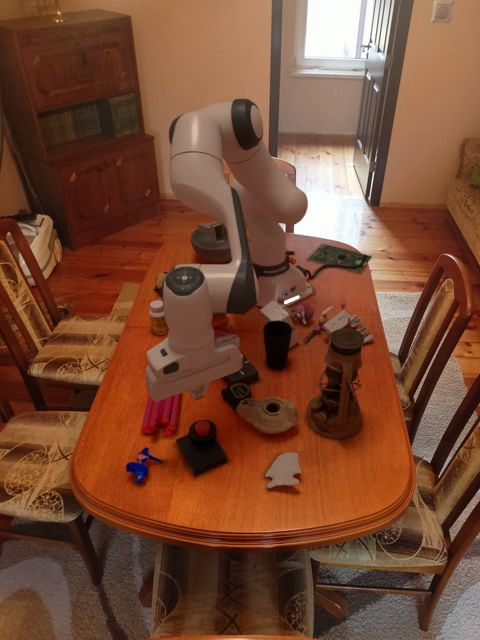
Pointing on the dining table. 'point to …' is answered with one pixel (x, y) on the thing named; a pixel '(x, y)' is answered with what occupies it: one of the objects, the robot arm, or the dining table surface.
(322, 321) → the candy
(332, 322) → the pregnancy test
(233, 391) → the tape measure
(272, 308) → the ink box
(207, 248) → the bowl
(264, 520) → the dining table surface
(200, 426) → the red button
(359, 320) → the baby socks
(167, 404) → the crystal
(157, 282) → the toy
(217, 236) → the toilet paper hanger
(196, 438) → the button box
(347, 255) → the circuit board
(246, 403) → the oil lamp
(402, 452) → the dining table surface
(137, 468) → the figurine
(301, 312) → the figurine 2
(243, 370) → the dial panel
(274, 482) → the arrowhead
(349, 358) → the lantern
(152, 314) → the supplement bottle
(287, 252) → the knife
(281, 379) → the dining table surface
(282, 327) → the cup
